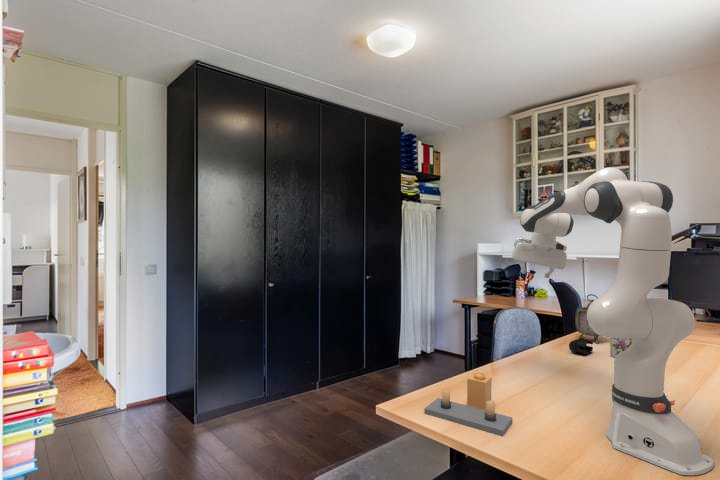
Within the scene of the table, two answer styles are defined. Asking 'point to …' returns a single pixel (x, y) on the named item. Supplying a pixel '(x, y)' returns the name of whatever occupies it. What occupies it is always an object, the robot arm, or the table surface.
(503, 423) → the mounting plate
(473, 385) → the orange toy brick
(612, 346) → the decorative jar
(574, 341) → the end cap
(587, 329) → the tabletop clock
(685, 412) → the table surface
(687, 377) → the table surface
